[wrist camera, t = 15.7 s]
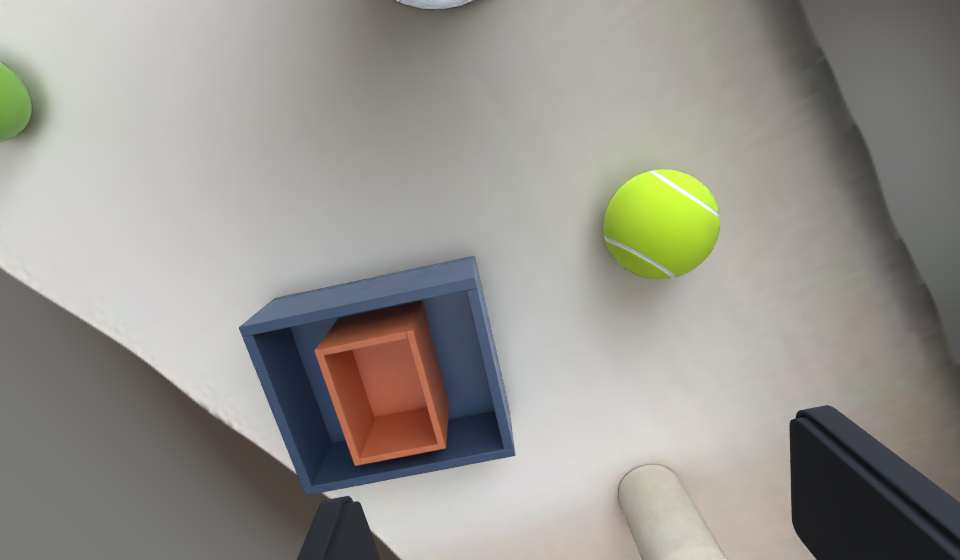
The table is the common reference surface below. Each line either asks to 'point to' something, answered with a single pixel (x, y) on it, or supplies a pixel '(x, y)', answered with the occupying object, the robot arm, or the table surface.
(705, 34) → the table surface
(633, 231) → the tennis ball
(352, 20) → the table surface
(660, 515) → the candle
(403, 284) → the big tote
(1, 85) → the snail figurine
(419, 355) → the small tote
